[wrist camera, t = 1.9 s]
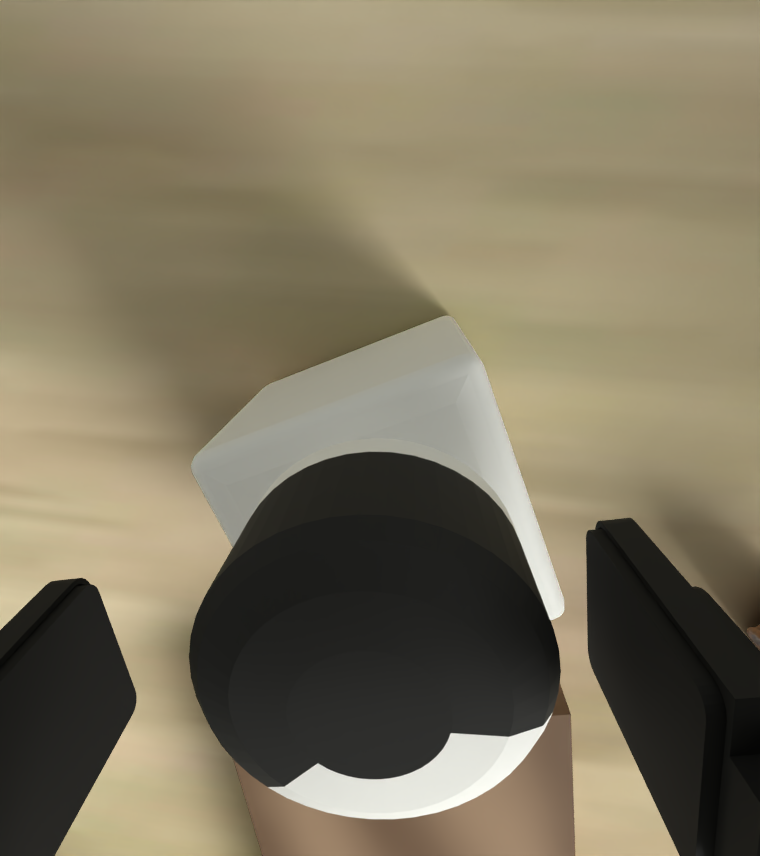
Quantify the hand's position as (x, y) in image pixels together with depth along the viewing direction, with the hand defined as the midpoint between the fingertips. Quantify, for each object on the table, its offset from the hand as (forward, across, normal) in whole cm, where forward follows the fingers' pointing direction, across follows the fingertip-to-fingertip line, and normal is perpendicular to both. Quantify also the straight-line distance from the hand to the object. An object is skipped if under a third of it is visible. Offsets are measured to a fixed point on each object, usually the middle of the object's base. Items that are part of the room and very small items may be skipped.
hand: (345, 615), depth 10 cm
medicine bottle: (+10, -1, 0) cm, 10 cm away
